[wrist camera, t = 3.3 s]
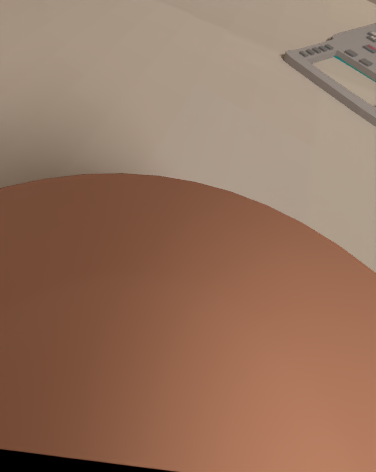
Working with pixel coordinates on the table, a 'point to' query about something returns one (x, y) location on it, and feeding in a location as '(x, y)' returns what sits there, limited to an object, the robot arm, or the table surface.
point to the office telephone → (348, 51)
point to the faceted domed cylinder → (178, 333)
